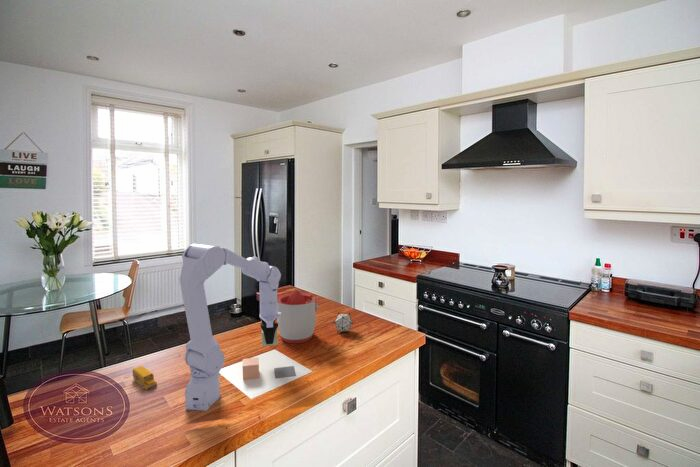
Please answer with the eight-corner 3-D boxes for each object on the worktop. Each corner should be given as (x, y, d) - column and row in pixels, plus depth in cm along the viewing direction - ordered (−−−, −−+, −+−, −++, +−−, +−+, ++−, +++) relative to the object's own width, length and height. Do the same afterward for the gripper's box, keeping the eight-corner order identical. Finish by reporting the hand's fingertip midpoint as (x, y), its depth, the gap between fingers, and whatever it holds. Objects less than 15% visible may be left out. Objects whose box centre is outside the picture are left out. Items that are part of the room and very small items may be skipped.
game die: (338, 339, 149) (327, 318, 151) (355, 330, 152) (344, 309, 154) (342, 337, 141) (330, 315, 143) (360, 327, 144) (348, 305, 146)
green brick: (277, 344, 117) (276, 331, 116) (262, 346, 115) (261, 333, 115) (276, 338, 121) (275, 326, 121) (261, 340, 120) (261, 327, 120)
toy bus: (146, 391, 103) (145, 379, 103) (132, 380, 109) (132, 368, 109) (157, 387, 106) (157, 375, 105) (143, 376, 112) (143, 364, 111)
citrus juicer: (325, 343, 137) (325, 293, 134) (280, 350, 130) (280, 297, 128) (314, 328, 151) (314, 283, 149) (273, 334, 145) (272, 287, 142)
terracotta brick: (259, 378, 109) (258, 364, 108) (242, 380, 108) (242, 366, 107) (258, 370, 113) (258, 357, 113) (243, 372, 112) (243, 359, 112)
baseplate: (251, 402, 98) (250, 398, 98) (216, 373, 113) (216, 370, 113) (312, 374, 113) (312, 371, 113) (274, 351, 129) (274, 349, 129)
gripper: (282, 307, 111) (283, 348, 112) (279, 294, 125) (279, 331, 126) (259, 308, 109) (260, 350, 111) (258, 295, 123) (259, 332, 124)
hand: (269, 340), depth 118 cm, fingers closed on green brick, 5 cm apart
